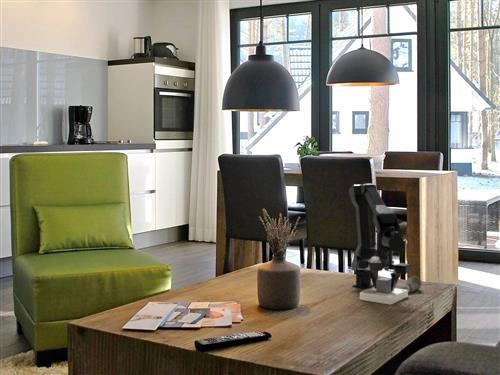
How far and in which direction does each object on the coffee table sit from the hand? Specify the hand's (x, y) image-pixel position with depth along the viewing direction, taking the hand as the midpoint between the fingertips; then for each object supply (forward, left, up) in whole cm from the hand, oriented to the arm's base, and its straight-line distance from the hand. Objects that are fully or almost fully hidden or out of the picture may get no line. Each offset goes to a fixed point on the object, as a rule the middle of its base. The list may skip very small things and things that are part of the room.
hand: (383, 289), depth 251 cm
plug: (0, 0, -3) cm, 3 cm away
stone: (-16, +4, -3) cm, 17 cm away
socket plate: (0, 0, -3) cm, 3 cm away
